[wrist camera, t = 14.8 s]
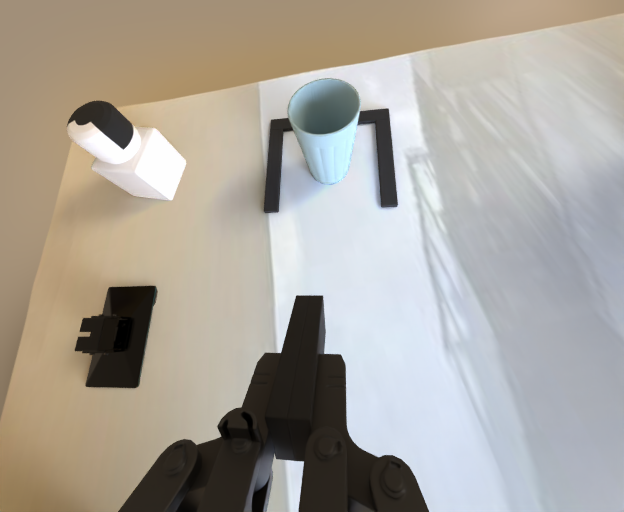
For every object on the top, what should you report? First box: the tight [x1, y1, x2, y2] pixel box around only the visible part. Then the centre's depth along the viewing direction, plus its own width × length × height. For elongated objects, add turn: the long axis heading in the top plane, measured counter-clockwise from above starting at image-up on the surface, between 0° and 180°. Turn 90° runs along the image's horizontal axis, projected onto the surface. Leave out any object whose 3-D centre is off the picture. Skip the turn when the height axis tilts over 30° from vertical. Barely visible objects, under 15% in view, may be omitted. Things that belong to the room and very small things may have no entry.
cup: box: [288, 78, 361, 184], centre depth 31 cm, size 8×8×10 cm
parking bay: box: [264, 109, 398, 213], centre depth 36 cm, size 16×18×1 cm
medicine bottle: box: [67, 101, 187, 200], centre depth 34 cm, size 7×7×12 cm
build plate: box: [75, 286, 158, 388], centre depth 30 cm, size 12×7×5 cm, turn 0°
